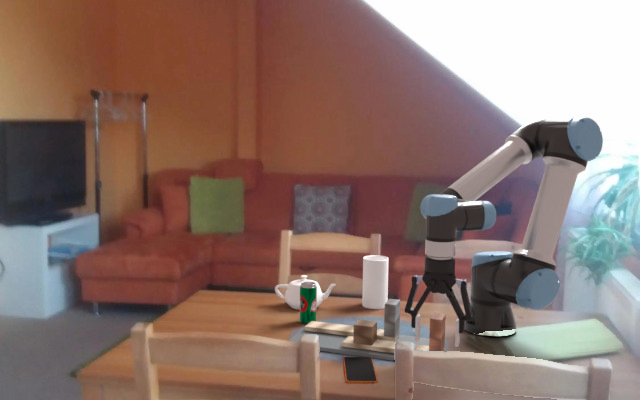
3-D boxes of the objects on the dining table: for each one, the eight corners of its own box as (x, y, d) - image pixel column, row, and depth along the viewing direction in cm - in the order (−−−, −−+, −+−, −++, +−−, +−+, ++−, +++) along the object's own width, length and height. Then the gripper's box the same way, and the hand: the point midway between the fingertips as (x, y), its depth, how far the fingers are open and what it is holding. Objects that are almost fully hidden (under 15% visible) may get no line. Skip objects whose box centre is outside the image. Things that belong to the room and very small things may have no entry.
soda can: (314, 325, 203) (314, 285, 201) (297, 323, 204) (298, 284, 202) (317, 320, 208) (318, 281, 206) (301, 319, 209) (302, 280, 207)
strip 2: (444, 352, 177) (445, 314, 176) (440, 359, 172) (441, 320, 170) (348, 340, 186) (349, 303, 184) (342, 346, 180) (342, 308, 179)
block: (376, 339, 182) (377, 321, 182) (371, 345, 178) (372, 326, 177) (358, 337, 184) (359, 319, 183) (353, 343, 179) (353, 324, 179)
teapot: (337, 302, 228) (337, 272, 227) (334, 312, 216) (334, 281, 215) (278, 299, 230) (278, 270, 229) (271, 310, 218) (271, 279, 217)
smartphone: (371, 359, 176) (372, 356, 176) (377, 385, 159) (378, 381, 159) (342, 359, 176) (342, 355, 176) (345, 384, 159) (345, 381, 159)
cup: (367, 309, 219) (368, 261, 217) (358, 303, 227) (359, 255, 225) (391, 308, 222) (392, 259, 220) (382, 301, 229) (383, 254, 227)
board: (441, 343, 188) (441, 339, 188) (429, 365, 171) (429, 361, 171) (308, 326, 201) (308, 323, 201) (285, 346, 184) (285, 342, 184)
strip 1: (399, 335, 190) (400, 299, 189) (394, 341, 185) (395, 304, 183) (311, 324, 199) (312, 290, 197) (304, 330, 193) (305, 295, 192)
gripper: (486, 257, 171) (483, 343, 174) (400, 250, 179) (397, 333, 182) (483, 263, 164) (479, 352, 167) (393, 255, 172) (391, 341, 175)
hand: (437, 342), depth 174 cm, fingers open, 9 cm apart
